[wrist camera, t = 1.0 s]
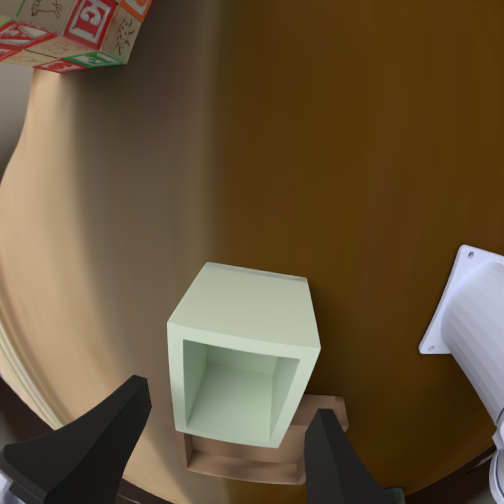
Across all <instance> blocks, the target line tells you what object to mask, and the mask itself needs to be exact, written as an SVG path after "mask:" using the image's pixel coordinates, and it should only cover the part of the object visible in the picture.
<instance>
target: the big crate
mask: <svg viewBox="0 0 504 504" xmlns="http://www.w3.org/2000/svg"><path fill="white" fill-rule="evenodd" d="M171 405H172V413H173V421H174V412H173V403H172V404H171ZM318 408H324V409H333V411H334V413H335V415H336V417H337V419H338V421H339V423H340V425H341V427H342V429H343V431H344V433H345V431H346V430H347V428H348V427H349V424H348V419H347V414H346V409H345V404H344V399H343V396H325V395H309V394H303V395H302V398H301V400H300V402H299V405H298V407H297V409H296V411H295V414H294V416H293V418H292V420H291V422H290V425H289V427H288V429H287V431H286V433H285V435H284V437H283V439H282V441H281V443H280V445H279V447H278V448H270V447H260V446H252V445H245V444H238V443H232V442H226V441H220V440H215V439H210V438H205V437H201V436H196V435H192V434H188V433H184V432H180V431H176V428H175V421H174V429H175V436H176V443H177V449H178V455H179V461H180V466H181V469H185V470H189V471H193V472H197V473H202V474H207V475H212V476H217V477H222V478H228V479H235V480H242V481H250V482H260V483H272V484H292V485H302V484H303V483H304V482H305V481H306V472H305V460H304V441H305V432H306V430H307V428H308V426H309V425H310V423H311V421H312V419H313V417H314V415H315V414H316V412H317V410H318Z"/></svg>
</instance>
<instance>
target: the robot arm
mask: <svg viewBox="0 0 504 504" xmlns="http://www.w3.org/2000/svg"><path fill="white" fill-rule="evenodd" d="M469 253H470V256H469V257H468V255H469ZM419 351H420V353H422V354H448V353H451V354H452V355H453V357H454V358H455V360H456V361H457V362H458V364H459V365H460V367H461V368H462V370H463V371H464V373H465V375H466V376H467V378H468V379H469V381H470V382H471V384H472V386H473V387H474V389H475V390H476V392H477V394H478V395H479V397H480V399H481V400H482V402H483V404H484V405H485V407H486V409H487V411H488V413H489V414H490V416H491V418H492V420H493V422H494V423H495V425H496V426H497V431H496V432H495V434H494V435H493V436H492V438H493V440H494V442H495V445H496V447H497V449H496V451H495V453H494V456H493V458H492V461H491V465H490V471H489V482H490V489H491V492H492V494H493V497H494V499H495V500H496V502H497V503H498V504H504V256H501V255H498V254H495V253H491V252H488V251H485V250H481V249H478V248H475V247H471V246H468V245H462V246H461V247H460V248H459V250H458V253H457V256H456V259H455V262H454V265H453V268H452V271H451V274H450V277H449V280H448V282H447V285H446V288H445V290H444V293H443V295H442V298H441V300H440V302H439V305H438V307H437V309H436V312H435V314H434V316H433V318H432V321H431V323H430V325H429V327H428V329H427V331H426V333H425V335H424V337H423V339H422V341H421V343H420V345H419ZM151 407H152V405H151V399H150V394H149V389H148V383H147V379H146V378H143V377H140V376H137V375H132V376H131V377H130V378H129V379H128V380H127V381H126V382H125V383H123V384H122V385H121V386H120V387H119V388H118V389H117V390H115V391H114V392H113V393H112V394H111V395H109V396H108V397H107V398H106V399H104V400H103V401H102V402H101V403H99V404H98V405H97V406H96V407H94V408H93V409H91V410H90V411H88V412H87V413H86V414H84V415H83V416H81V417H79V418H78V419H76V420H75V421H73V422H71V423H69V424H67V425H66V426H64V427H62V428H59V429H57V430H55V431H53V432H51V433H49V434H46V435H43V436H40V437H37V438H34V439H31V440H27V441H23V442H18V443H13V444H7V445H6V446H4V448H3V449H2V451H1V452H0V469H1V470H2V471H3V472H4V473H5V474H6V475H8V477H10V478H11V479H12V480H13V482H12V481H10V480H9V479H7V478H6V477H5V476H4V475H3V474H2V473H0V504H114V503H115V498H116V495H117V491H118V488H119V485H120V481H121V478H122V475H123V472H124V469H125V467H126V464H127V462H128V460H129V458H130V456H131V454H132V452H133V450H134V448H135V446H136V443H137V441H138V439H139V437H140V435H141V433H142V431H143V429H144V427H145V425H146V422H147V419H148V417H149V413H150V410H151ZM304 460H305V472H306V485H307V504H399V503H398V502H397V501H395V500H394V499H393V498H392V497H391V496H390V495H389V494H388V493H387V492H386V491H385V490H384V489H383V488H382V487H381V486H380V485H379V484H378V483H377V481H376V480H375V479H374V478H373V476H372V475H371V474H370V473H369V471H368V470H367V469H366V467H365V466H364V464H363V463H362V461H361V460H360V458H359V457H358V455H357V454H356V452H355V450H354V449H353V447H352V445H351V444H350V442H349V440H348V438H347V436H346V435H345V433H344V431H343V429H342V427H341V425H340V423H339V421H338V419H337V417H336V415H335V413H334V411H333V409H324V408H318V410H317V412H316V414H315V415H314V417H313V419H312V421H311V423H310V425H309V426H308V428H307V430H306V432H305V441H304Z"/></svg>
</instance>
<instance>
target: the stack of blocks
mask: <svg viewBox="0 0 504 504" xmlns="http://www.w3.org/2000/svg"><path fill="white" fill-rule="evenodd" d="M151 2H152V0H0V63H7V64H15V65H22V66H32V67H33V68H38V69H42V70H48V71H52V72H56V73H63V72H69V71H75V70H81V69H88V68H91V67H99V66H110V65H125V64H127V63H128V60H129V57H130V54H131V51H132V48H133V45H134V42H135V39H136V36H137V34H138V31H139V29H140V26H141V23H142V22H143V21H144V19H145V16H146V14H147V12H148V9H149V7H150V5H151Z"/></svg>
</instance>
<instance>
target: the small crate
mask: <svg viewBox="0 0 504 504" xmlns="http://www.w3.org/2000/svg"><path fill="white" fill-rule="evenodd" d="M167 332H168V353H169V369H170V382H171V393H172V403H173V412H174V421H175V428H176V431H180V432H184V433H188V434H192V435H196V436H201V437H205V438H210V439H215V440H220V441H226V442H232V443H238V444H245V445H252V446H260V447H270V448H278V447H279V445H280V443H281V441H282V439H283V437H284V435H285V433H286V431H287V429H288V427H289V425H290V422H291V420H292V418H293V416H294V414H295V411H296V409H297V407H298V405H299V402H300V400H301V398H302V395H303V393H304V390H305V388H306V386H307V383H308V381H309V378H310V376H311V373H312V371H313V368H314V365H315V363H316V360H317V358H318V355H319V352H320V349H321V346H320V341H319V336H318V330H317V325H316V320H315V315H314V310H313V306H312V301H311V296H310V291H309V287H308V282H307V278H304V277H298V276H291V275H285V274H279V273H273V272H266V271H260V270H254V269H248V268H242V267H236V266H230V265H224V264H218V263H212V262H206V263H205V265H204V266H203V268H202V269H201V271H200V272H199V274H198V275H197V277H196V278H195V280H194V281H193V283H192V284H191V286H190V287H189V289H188V290H187V292H186V294H185V295H184V297H183V298H182V300H181V301H180V303H179V304H178V306H177V308H176V309H175V311H174V312H173V314H172V315H171V317H170V319H169V320H168V322H167Z"/></svg>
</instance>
